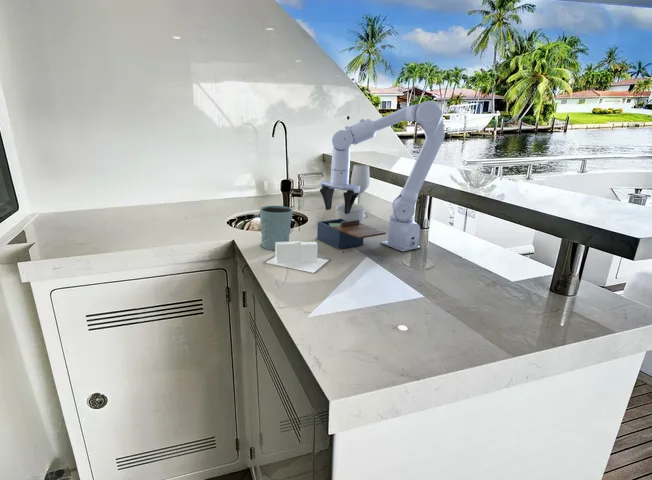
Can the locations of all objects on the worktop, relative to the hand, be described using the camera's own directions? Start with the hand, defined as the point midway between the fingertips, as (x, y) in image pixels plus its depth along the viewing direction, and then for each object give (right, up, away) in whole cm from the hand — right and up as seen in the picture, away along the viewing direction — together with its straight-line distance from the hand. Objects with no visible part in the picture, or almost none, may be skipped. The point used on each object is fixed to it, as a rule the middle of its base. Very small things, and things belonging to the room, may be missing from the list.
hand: (337, 211), depth 125 cm
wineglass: (+13, +2, +36) cm, 38 cm away
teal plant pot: (-20, -11, -4) cm, 24 cm away
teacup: (+7, -4, +20) cm, 21 cm away
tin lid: (+6, -7, -8) cm, 12 cm away
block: (0, -9, +3) cm, 9 cm away
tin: (+1, -10, +1) cm, 10 cm away
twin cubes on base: (-14, -16, -17) cm, 27 cm away
